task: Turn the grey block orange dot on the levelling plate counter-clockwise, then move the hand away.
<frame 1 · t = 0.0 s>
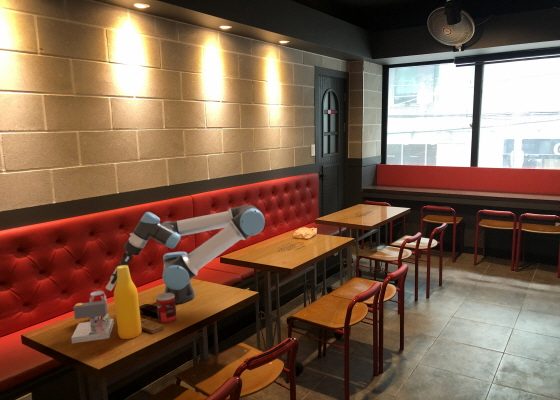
hand: (110, 284, 206), 15 cm above the table, tool tilted 35°, fingers open, 13 cm apart
levelling plate: (93, 333, 192), on the table
canned food: (167, 320, 202), on the table
soda can: (100, 318, 207), on the table
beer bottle: (130, 334, 189), on the table
grey block orange dot: (91, 315, 190), point 8 cm above the table, hinge at 0.0°
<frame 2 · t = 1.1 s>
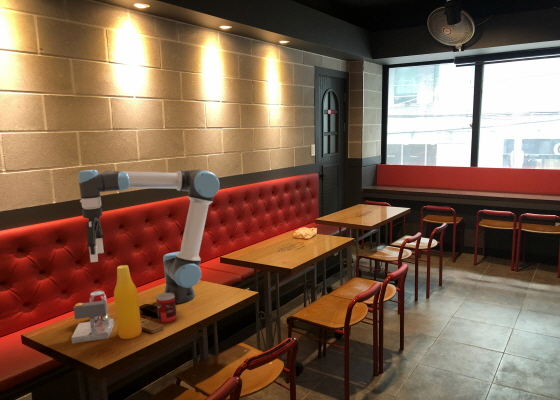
hand: (97, 257, 193), 31 cm above the table, tool pointing down, fingers open, 13 cm apart
nothing on the table moved.
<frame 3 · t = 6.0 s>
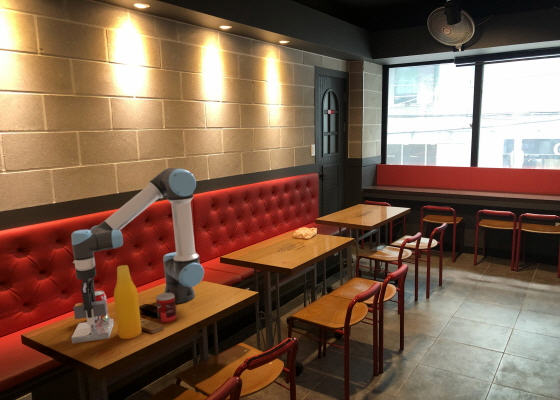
hand: (92, 321, 191), 5 cm above the table, tool pointing down, fingers closed on grey block orange dot, 4 cm apart
grey block orange dot: (91, 315, 190), point 8 cm above the table, hinge at 0.0°, touching gripper
everything else where it was.
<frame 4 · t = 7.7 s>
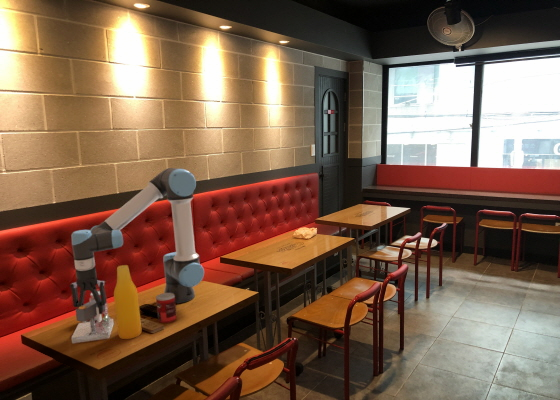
hand: (92, 321, 191), 5 cm above the table, tool pointing down, fingers closed on grey block orange dot, 5 cm apart
grey block orange dot: (91, 315, 190), point 8 cm above the table, hinge at 58.9°, touching gripper
everything else where it was.
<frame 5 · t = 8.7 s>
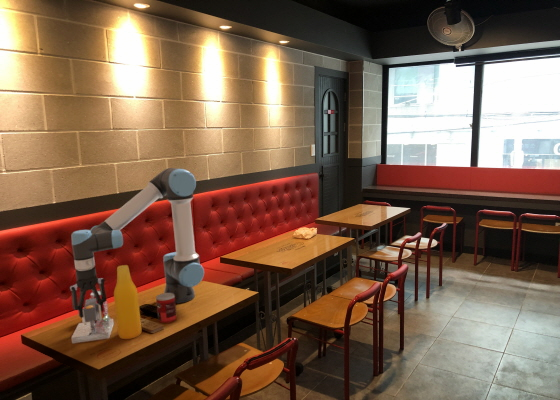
hand: (92, 321, 191), 5 cm above the table, tool pointing down, fingers closed on grey block orange dot, 6 cm apart
grey block orange dot: (91, 315, 190), point 8 cm above the table, hinge at 97.0°, touching gripper
everything else where it was.
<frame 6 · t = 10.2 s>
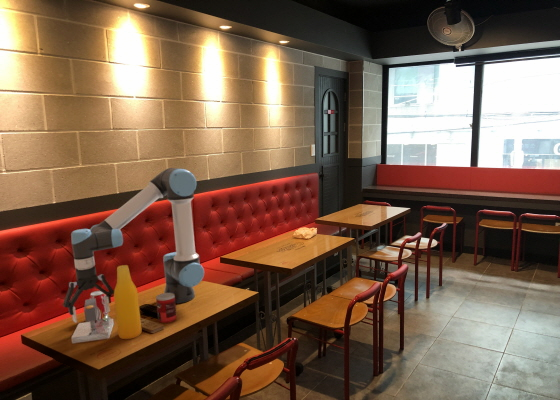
hand: (91, 316, 191), 8 cm above the table, tool pointing down, fingers open, 13 cm apart
grey block orange dot: (91, 315, 190), point 8 cm above the table, hinge at 98.2°
everything else where it was.
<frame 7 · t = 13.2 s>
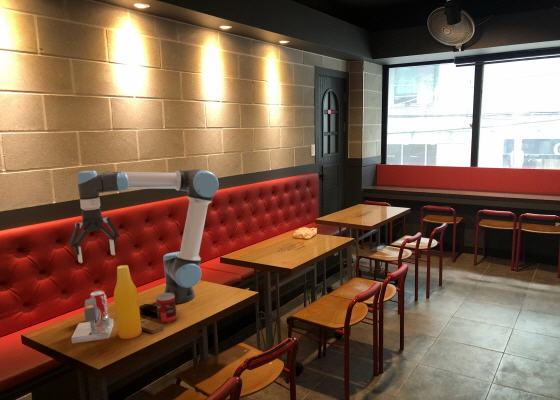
hand: (97, 258, 192), 31 cm above the table, tool pointing down, fingers open, 13 cm apart
nothing on the table moved.
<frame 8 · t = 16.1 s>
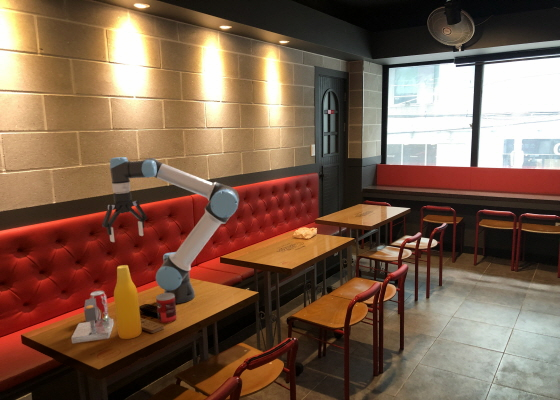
hand: (127, 238, 207), 35 cm above the table, tool pointing down, fingers open, 13 cm apart
nothing on the table moved.
at the end: grey block orange dot at +98° (first picture: +0°); the gripper is holding nothing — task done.
